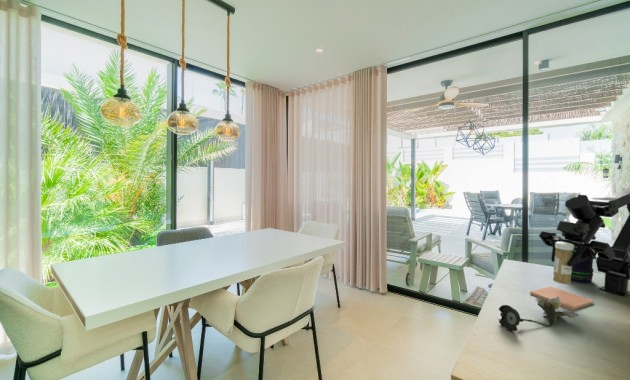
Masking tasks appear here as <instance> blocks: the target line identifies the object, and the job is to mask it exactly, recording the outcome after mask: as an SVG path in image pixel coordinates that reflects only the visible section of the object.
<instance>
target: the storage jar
mask: <svg viewBox="0 0 630 380" xmlns="http://www.w3.org/2000/svg"><path fill="white" fill-rule="evenodd" d="M589 244H590V242H589ZM576 250H577V248H576V247H574V250H573V255H574V253H575V252H576ZM573 255H572V256H573ZM593 263H594V259H589V260H586V261H583V262H580V263H578V264H575V265H573V266H572V272H571V283H577V284H585V285H588V284H589V285H590V284H592V283H593V277H594V268H593Z"/></svg>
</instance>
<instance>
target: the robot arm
mask: <svg viewBox="0 0 630 380" xmlns="http://www.w3.org/2000/svg"><path fill="white" fill-rule="evenodd" d="M564 204H565V207H566V209H567V210H568V211H569V214H570V215H571V216H572V217H573V218H574V219H576V221H575V222H569V221H563V220H560V221H559V222H558V224H557V226H556V230H557V231H559V232H561V235H562V237H561V236H559V235H557V233H556V232H552V231H545V230H542V231H541V232H540V233H539V235H538V237H539V239H540V240H542V242H543V243H544V245H546V246H548V247H552V251H551V259H550V260H551V262H552V263H554V260H555V251H556V249H555V243H556V242H567V243H571V244H573V245H574V247H576V248H577V250H576V252H575V253H574V255H573V256H572V257H571V259H570V260H569V262H568V264H567V265H568V266H569V267H570V266H573V265H575V264H578V263H580V262H583V261H586V260H589V259H593V260H595V261H596V268H597V269H596V270H597V272H600V273H604V283H603V286H599V288H598V289H599V290H602V291H604V292H605V291H606V292H609V293H613V294H616V295H619V296H622V297H626V296H629V295H630V290H629V281H630V186H628V187H624V188H622V190H620V191H616V192H614V193H612V194H609V195H607V196H606V197H605V196H604V197H594V198H588V196H587V195H586V194H578V195H577V196H575V197H572V198H569V199H568V200H566V201H565V203H564ZM625 206H626V209H627V212H628V216H627V218H626V220H625V222H624V224H623V225H622V227H621V229H620V231H619V233H618V235H617V237H616V238H615V240H614V242H613V244H612V246H611V245H610V244H609V243H608V242H603V241H598V240H596V239H597V236H596V234H597V232H598V231H599V229H600V228H601V229H605V228H606V223H605V221H604V219H603V218H602V217H605V218H613V217H614V216H616V215H617V214H618V213H619V212H620V211H619V209H620V208H623V207H625ZM563 237H564V238H563ZM589 243H590V244H589Z"/></svg>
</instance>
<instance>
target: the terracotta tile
mask: <svg viewBox="0 0 630 380" xmlns="http://www.w3.org/2000/svg"><path fill="white" fill-rule="evenodd" d="M529 294H530V295H531V296H534V297H536V298H538V297H542V298H544V299H545V300H546V298H549V299H553V298H556V297H557V296H559V299H560V301H561V305H560V307H563V308H565V309H567V310H569V311H570V310H571V311H575V310H578V309H582V308H584V307H587V306H591V305H594V299H593V300H592V299H590V298H586V297H584V296H580V295H577V294H575V293H572V292H568V291H565V290H563V289H560V288H557V287H554V286H547V287H542V288H539V289H535V290H531V291H529Z"/></svg>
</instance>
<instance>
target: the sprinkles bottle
mask: <svg viewBox="0 0 630 380" xmlns="http://www.w3.org/2000/svg"><path fill="white" fill-rule="evenodd" d="M555 249H556V251H555V260H554V262H553V263H554V265H553V278H552V281H554V282H555V283H558V284H562V285H570V284H572V281H571V272H572V266H570V267H569V266H568V265H567V264H568V262H569V260H570V259H571V257H572V255H573V250H574V245H573V244H571V243H567V242H556V243H555Z"/></svg>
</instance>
